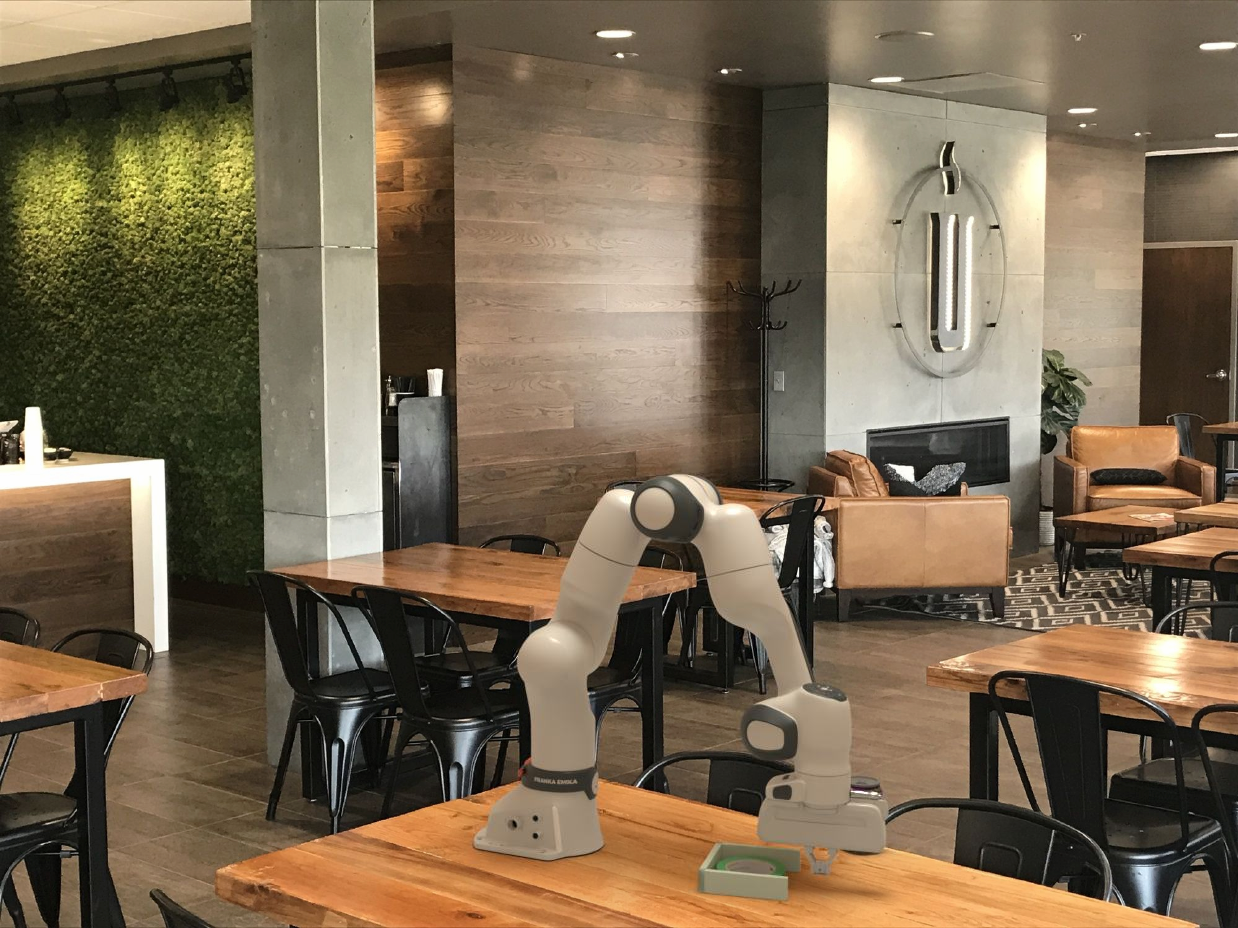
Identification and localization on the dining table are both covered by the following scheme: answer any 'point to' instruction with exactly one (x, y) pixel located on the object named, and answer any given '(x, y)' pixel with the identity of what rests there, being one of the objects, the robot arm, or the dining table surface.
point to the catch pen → (747, 882)
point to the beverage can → (865, 790)
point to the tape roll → (752, 865)
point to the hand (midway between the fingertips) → (820, 873)
